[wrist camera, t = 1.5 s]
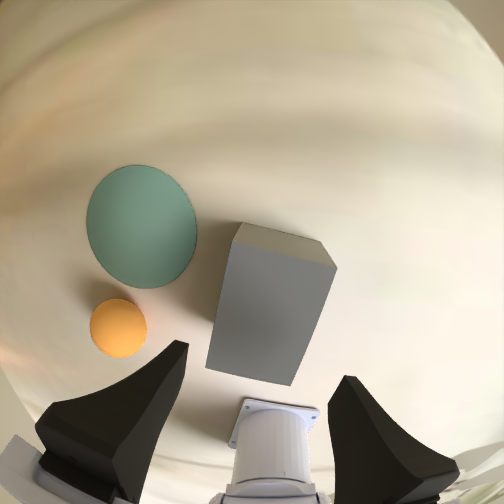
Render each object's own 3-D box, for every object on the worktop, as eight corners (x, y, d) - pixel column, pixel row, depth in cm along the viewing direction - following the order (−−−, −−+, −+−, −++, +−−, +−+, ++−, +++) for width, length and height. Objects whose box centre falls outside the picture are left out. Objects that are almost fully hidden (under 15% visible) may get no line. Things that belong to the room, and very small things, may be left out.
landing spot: (185, 301, 23) (185, 302, 22) (85, 269, 23) (84, 270, 22) (208, 178, 20) (208, 178, 19) (95, 158, 20) (94, 158, 19)
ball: (153, 344, 24) (132, 377, 19) (107, 328, 24) (81, 356, 19) (157, 298, 23) (132, 328, 18) (107, 282, 23) (76, 307, 18)
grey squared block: (287, 341, 23) (290, 386, 18) (218, 325, 23) (205, 367, 18) (320, 242, 20) (337, 267, 15) (242, 222, 20) (231, 241, 15)
